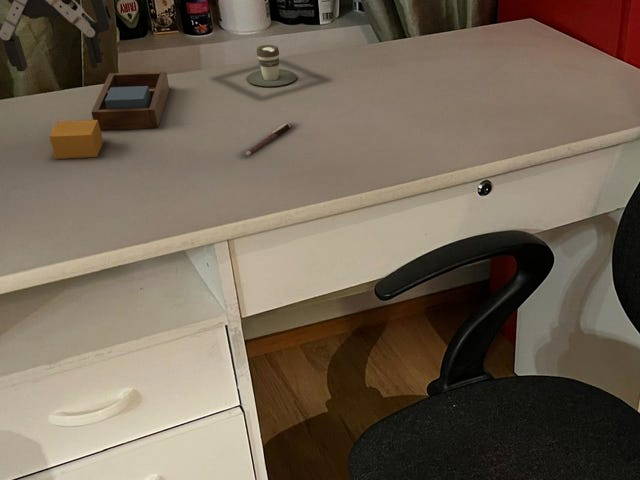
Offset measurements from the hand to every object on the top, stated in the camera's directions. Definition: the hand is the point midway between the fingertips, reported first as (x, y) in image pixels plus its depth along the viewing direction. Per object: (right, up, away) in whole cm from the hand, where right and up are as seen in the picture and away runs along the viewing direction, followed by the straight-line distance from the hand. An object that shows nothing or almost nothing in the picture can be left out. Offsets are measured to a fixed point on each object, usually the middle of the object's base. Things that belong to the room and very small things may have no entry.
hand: (59, 67), depth 106 cm
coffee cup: (+19, +8, +29) cm, 35 cm away
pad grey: (+3, -2, +14) cm, 15 cm away
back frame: (+2, 0, +18) cm, 18 cm away
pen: (+23, -7, +10) cm, 26 cm away
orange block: (0, -9, +6) cm, 11 cm away
